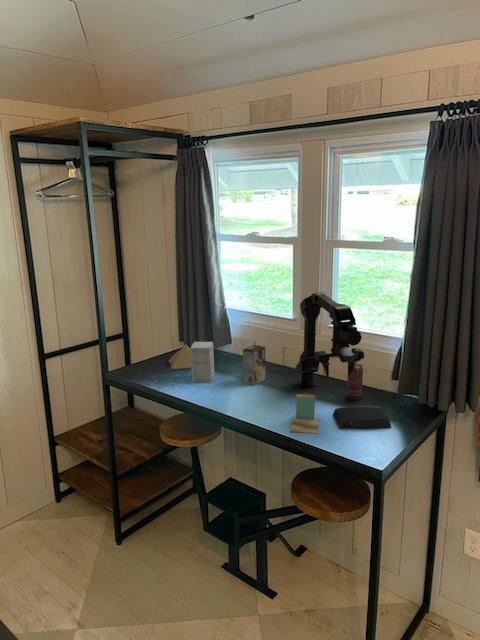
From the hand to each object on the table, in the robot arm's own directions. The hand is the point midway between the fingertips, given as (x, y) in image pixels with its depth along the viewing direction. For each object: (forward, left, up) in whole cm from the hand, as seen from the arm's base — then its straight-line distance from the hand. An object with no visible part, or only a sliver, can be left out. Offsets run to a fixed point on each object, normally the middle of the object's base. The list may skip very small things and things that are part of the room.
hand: (338, 375), depth 194 cm
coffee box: (-40, -19, -14) cm, 47 cm away
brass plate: (+9, -19, -14) cm, 25 cm away
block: (+2, -15, -14) cm, 21 cm away
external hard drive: (+13, +3, -15) cm, 20 cm away
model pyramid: (-77, -42, -15) cm, 89 cm away
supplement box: (-52, -40, -14) cm, 67 cm away
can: (-7, +13, -14) cm, 20 cm away
